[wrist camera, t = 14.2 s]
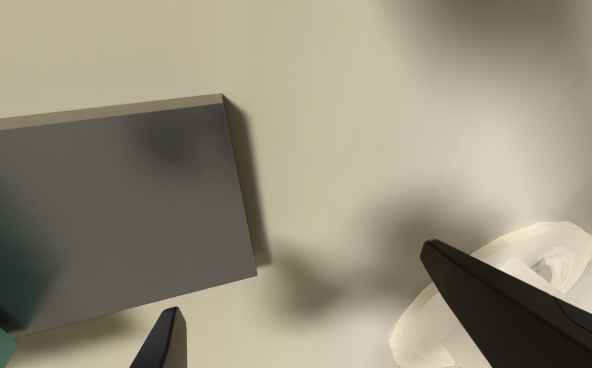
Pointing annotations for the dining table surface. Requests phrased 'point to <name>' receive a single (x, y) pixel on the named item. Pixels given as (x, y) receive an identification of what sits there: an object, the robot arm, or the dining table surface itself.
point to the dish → (510, 259)
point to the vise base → (117, 210)
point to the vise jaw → (6, 347)
